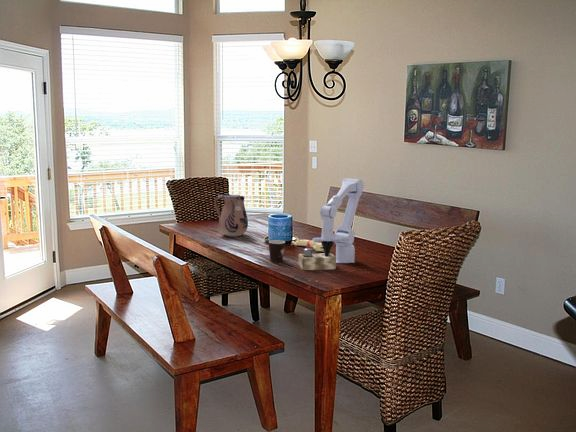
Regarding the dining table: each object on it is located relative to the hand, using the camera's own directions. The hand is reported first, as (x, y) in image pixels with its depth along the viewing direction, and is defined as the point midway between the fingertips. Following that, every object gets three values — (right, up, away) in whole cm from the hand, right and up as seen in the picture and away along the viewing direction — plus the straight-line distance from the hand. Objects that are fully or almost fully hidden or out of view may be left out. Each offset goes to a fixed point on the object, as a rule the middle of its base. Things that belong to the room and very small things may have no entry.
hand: (326, 255), depth 296 cm
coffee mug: (-24, -3, +12) cm, 27 cm away
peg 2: (0, -6, +1) cm, 6 cm away
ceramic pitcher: (-55, +8, +70) cm, 89 cm away
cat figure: (-7, +1, +40) cm, 41 cm away
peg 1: (-9, -2, -2) cm, 10 cm away
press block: (-5, -6, 0) cm, 7 cm away
